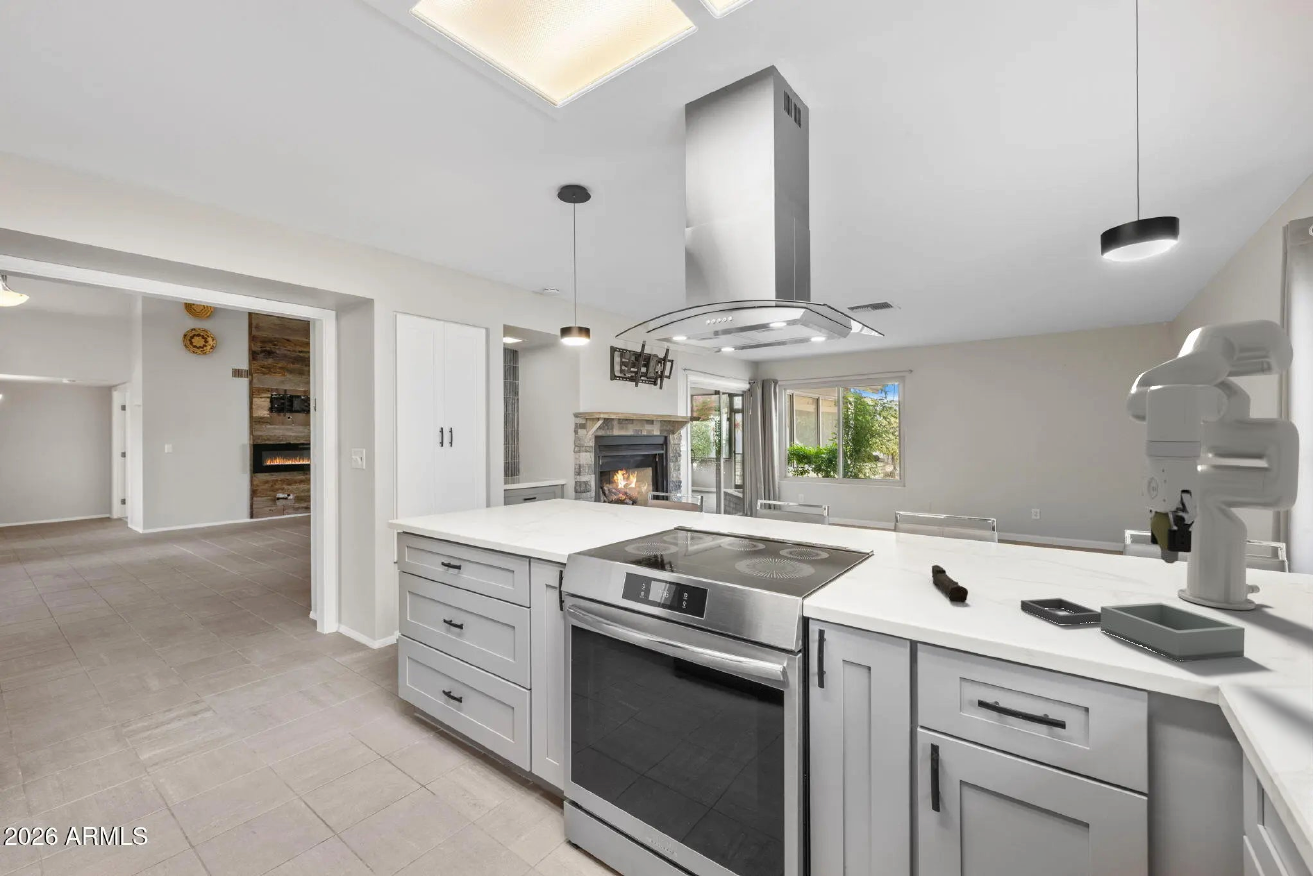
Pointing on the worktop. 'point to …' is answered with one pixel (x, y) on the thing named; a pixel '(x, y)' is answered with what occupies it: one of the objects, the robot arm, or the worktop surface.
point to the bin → (1173, 631)
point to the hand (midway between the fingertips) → (1170, 547)
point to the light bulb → (1163, 535)
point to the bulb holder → (1079, 617)
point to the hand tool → (948, 585)
